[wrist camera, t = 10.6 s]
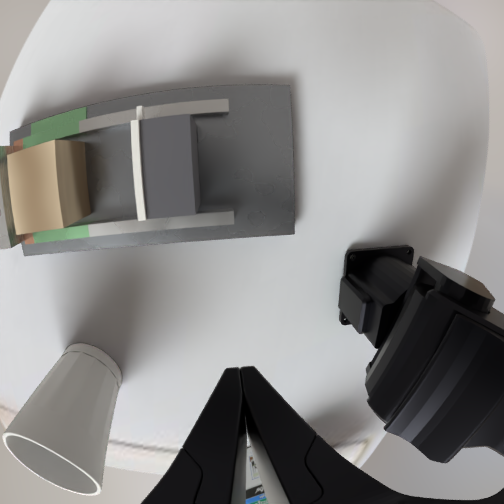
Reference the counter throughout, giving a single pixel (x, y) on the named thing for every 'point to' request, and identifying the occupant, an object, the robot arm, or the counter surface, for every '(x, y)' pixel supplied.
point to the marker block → (48, 186)
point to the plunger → (165, 166)
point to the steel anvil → (6, 204)
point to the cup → (69, 421)
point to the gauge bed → (209, 161)
